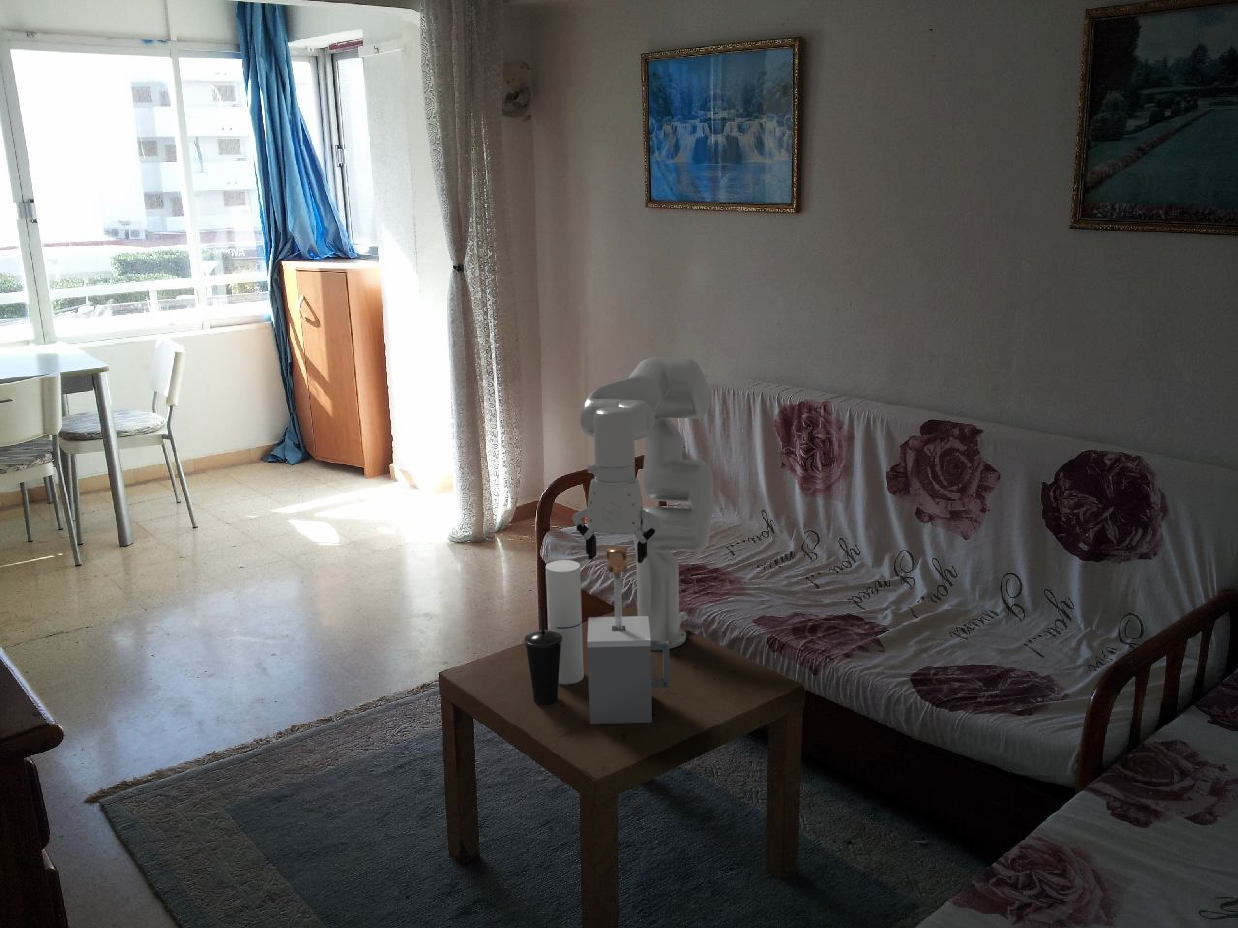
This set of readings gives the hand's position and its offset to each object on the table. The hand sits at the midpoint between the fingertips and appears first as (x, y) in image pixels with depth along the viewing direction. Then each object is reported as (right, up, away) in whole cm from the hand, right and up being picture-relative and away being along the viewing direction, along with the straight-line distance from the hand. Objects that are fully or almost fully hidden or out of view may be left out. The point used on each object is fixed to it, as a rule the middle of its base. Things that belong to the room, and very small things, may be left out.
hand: (616, 559), depth 205 cm
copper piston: (+1, -21, +5) cm, 21 cm away
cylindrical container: (-11, -27, +23) cm, 37 cm away
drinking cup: (-14, -30, +12) cm, 36 cm away
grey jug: (+3, -31, +8) cm, 32 cm away
